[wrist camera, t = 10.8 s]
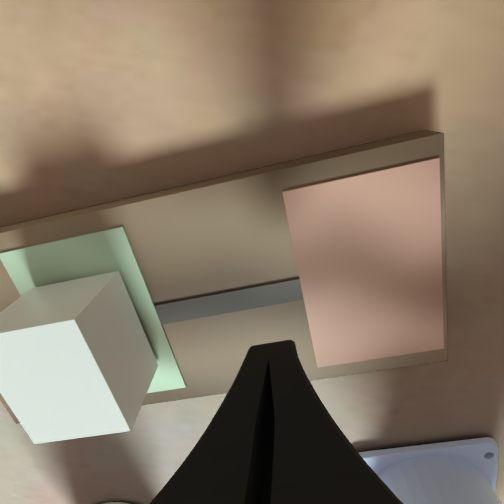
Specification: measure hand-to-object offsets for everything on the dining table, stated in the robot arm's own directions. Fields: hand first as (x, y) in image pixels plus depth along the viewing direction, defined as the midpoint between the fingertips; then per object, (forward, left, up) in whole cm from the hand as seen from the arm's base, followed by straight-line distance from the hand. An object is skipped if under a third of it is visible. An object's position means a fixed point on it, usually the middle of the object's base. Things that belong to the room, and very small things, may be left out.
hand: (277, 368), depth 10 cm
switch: (0, +4, -6) cm, 7 cm away
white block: (0, +8, -4) cm, 9 cm away
